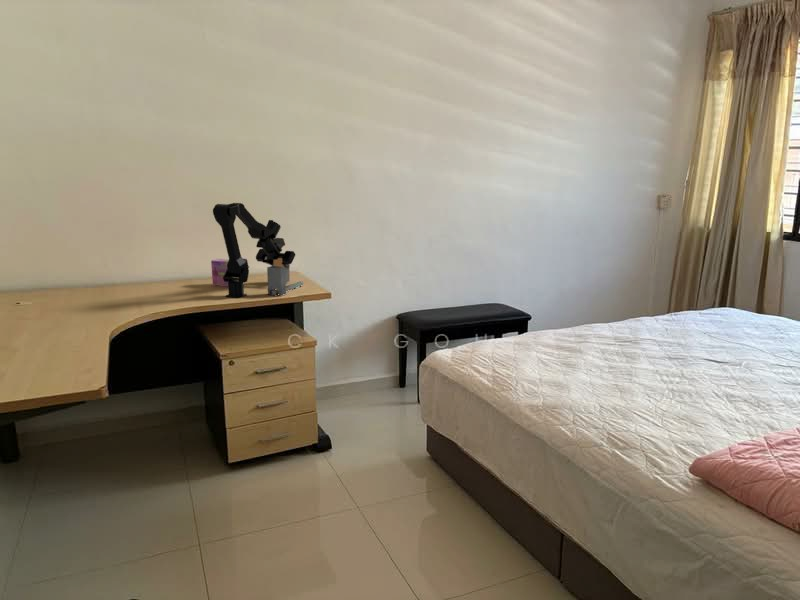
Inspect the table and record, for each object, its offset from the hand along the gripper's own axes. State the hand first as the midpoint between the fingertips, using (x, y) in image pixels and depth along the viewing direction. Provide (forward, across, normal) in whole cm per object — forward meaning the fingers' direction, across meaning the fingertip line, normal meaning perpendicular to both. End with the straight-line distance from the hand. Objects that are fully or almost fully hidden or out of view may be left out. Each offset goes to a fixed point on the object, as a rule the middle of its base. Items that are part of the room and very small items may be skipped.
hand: (282, 267), depth 283 cm
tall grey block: (-12, -13, +23) cm, 29 cm away
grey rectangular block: (+4, 0, +6) cm, 7 cm away
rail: (-6, -13, +16) cm, 21 cm away
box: (-7, +19, +18) cm, 27 cm away
